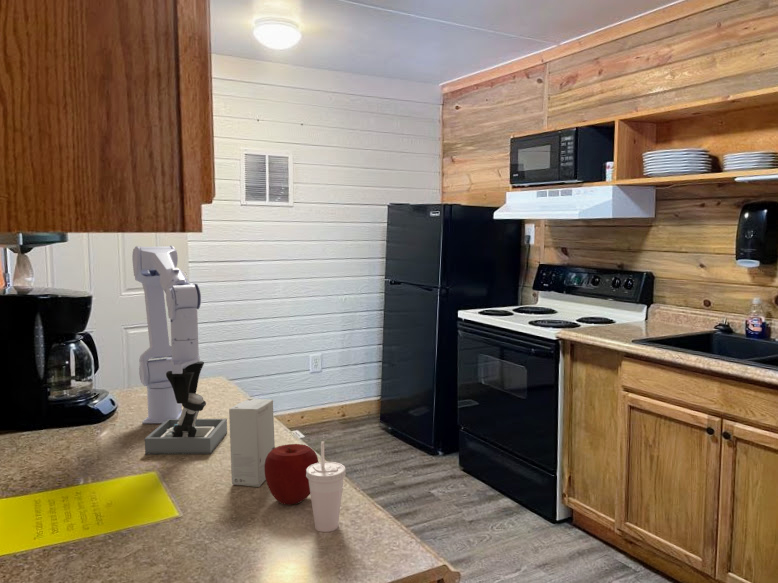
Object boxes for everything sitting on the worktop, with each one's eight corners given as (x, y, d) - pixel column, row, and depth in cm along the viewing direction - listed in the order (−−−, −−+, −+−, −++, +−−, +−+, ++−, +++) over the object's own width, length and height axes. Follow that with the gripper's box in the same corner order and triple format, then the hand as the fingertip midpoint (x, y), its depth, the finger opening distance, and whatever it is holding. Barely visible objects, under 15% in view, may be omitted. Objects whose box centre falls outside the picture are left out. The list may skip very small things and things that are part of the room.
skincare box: (259, 488, 115) (257, 410, 114) (229, 485, 117) (227, 408, 115) (276, 471, 123) (275, 398, 122) (248, 468, 125) (246, 396, 123)
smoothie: (318, 514, 104) (317, 434, 103) (352, 521, 102) (352, 438, 101) (299, 531, 98) (297, 446, 97) (335, 539, 96) (334, 451, 95)
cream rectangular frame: (171, 435, 144) (171, 426, 144) (215, 435, 144) (215, 426, 144) (159, 447, 136) (158, 438, 135) (205, 447, 136) (205, 438, 135)
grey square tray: (168, 433, 147) (167, 418, 146) (227, 433, 147) (226, 418, 146) (145, 454, 133) (144, 438, 132) (210, 454, 133) (210, 438, 133)
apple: (280, 486, 116) (279, 434, 115) (328, 492, 113) (327, 439, 112) (255, 507, 107) (253, 451, 106) (305, 515, 104) (304, 457, 103)
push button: (167, 441, 135) (181, 399, 134) (161, 430, 139) (175, 389, 138) (196, 443, 139) (210, 402, 138) (189, 432, 143) (203, 393, 143)
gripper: (175, 333, 144) (177, 390, 146) (156, 344, 130) (158, 407, 131) (206, 332, 145) (207, 389, 146) (190, 344, 130) (192, 407, 132)
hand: (186, 398), depth 139 cm, fingers open, 7 cm apart
